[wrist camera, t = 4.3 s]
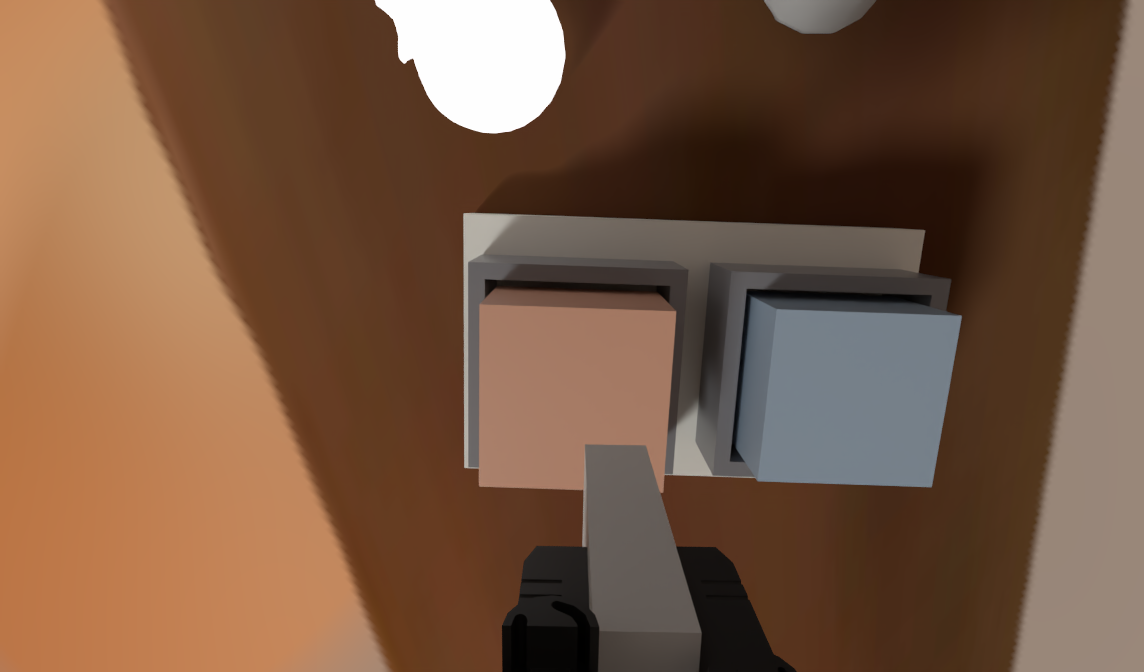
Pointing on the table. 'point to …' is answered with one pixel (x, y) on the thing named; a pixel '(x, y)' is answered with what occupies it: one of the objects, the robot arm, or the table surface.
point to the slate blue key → (842, 388)
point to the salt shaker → (818, 14)
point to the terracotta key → (570, 381)
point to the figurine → (482, 57)
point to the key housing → (685, 297)
